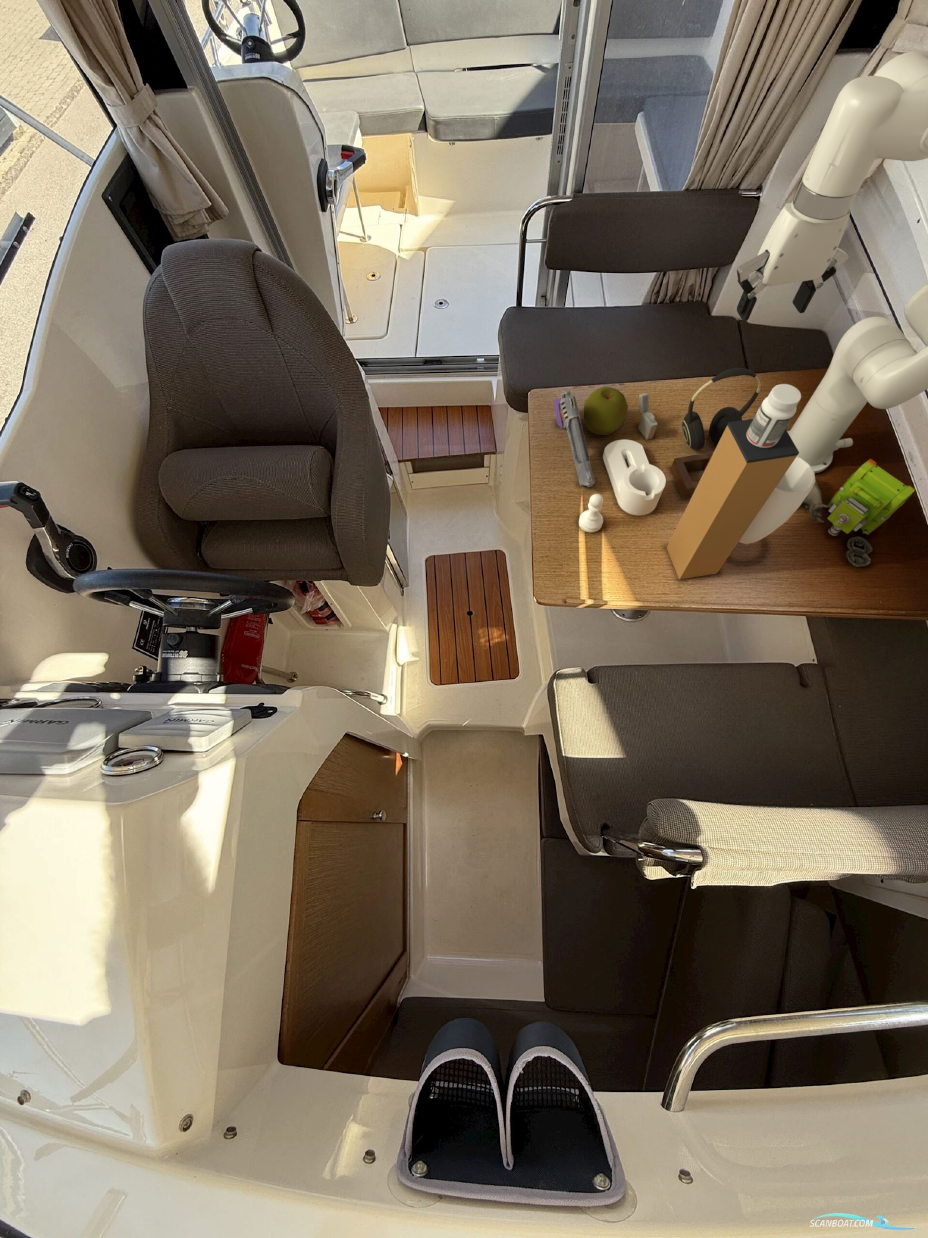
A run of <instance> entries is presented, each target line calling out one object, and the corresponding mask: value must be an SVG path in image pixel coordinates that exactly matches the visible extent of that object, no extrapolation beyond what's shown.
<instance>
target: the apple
mask: <svg viewBox="0 0 928 1238" xmlns="http://www.w3.org/2000/svg"><path fill="white" fill-rule="evenodd" d="M628 409H629V405H628V401H627V399H626V396H625V395H624V393H622V392H621V391H620V390H619V389H617V388H615V387H609V386H601V387H599V388H597V389H595V390H593V391H592V392H591V393H590V394H589V396H588V397H587V399H586V400H585V401H584V404H583V415H582V418H583V420H584V423H585V427H586V428H587V430H588V431H589V432H590V433H592V434H595V435H599V436H608V435H611V434H613V433H615V432H616V431H617V430H618V429H619V428H620V427H622V425H623V423H624V422H625V419H626V417H627V414H628Z"/></svg>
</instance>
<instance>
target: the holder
mask: <svg viewBox="0 0 928 1238" xmlns="http://www.w3.org/2000/svg"><path fill="white" fill-rule="evenodd" d="M713 453H714V451H712V452H705V453H699V454H692V455H687V456H680V457H679V456H678V457H674V459H673V461H672V463H671V466H670V468H669V470H670V472H671V474H672V476H673V479H674V481H675V484H676V486H677V488H678V490H679V493H680V495H681V498H682V499H683V500H684V499H685V500H686V499H691V497H692V495H693V493H694V491H695V489H696V487H697V485H698V483H699V481H700V480H698V481H692V479H691V476H690V474H689V472H693V471H699V470H703V472H704V471H705V469H706V467H707V465H708V463H709V461H710V459H711V457H712V455H713Z"/></svg>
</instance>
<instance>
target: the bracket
mask: <svg viewBox="0 0 928 1238" xmlns="http://www.w3.org/2000/svg"><path fill="white" fill-rule="evenodd" d="M602 460H603V463H604V465H605V468H606V471H607V474H608V477H609V481H610V483H611V487H612V489H613V492H614V495H615V499H616V502H617V504H618V506H619V507H620V509H622V510H623V511H624V512H625V513H627V514H629V515H633V516H646V515H648V514H650V513H652V512H653V511H655V509H656V508H657V505H658V503H659V500H660V498H661V497H662V493H663V492H664V489H665V487H666V483H667V480H666V476H665V474H664V471H662V470H661V469H660V468H659V467H657V466H655V465H653V464H650V462H649V459H648V457H647V455H646V452H645V449H644V446H643V445H642V444H641V443H639V442H638V441H635V440H632V439H617V440H614V441H611V442H610V443H608V444H607V445H606V446H605V447H604V451H603V454H602Z"/></svg>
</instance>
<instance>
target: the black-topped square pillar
mask: <svg viewBox="0 0 928 1238" xmlns="http://www.w3.org/2000/svg"><path fill="white" fill-rule="evenodd" d="M753 419H754V418H749V419H742V420H741V421H735V422H729V423H728V425H727V427H726V429H725V431H724V433H723V435H722V437H721V439H720V441H719V443H718V445H717V446H716V447H715V449H714V451H713V455H712V457H711V459H710V461H709V463H708V465H707V467H706V469H705V471H704V470H703V473H702V476H701V478H700V479H699V480H698V481H699V483H698V485H697V487H696V489H695V491H694V493H693V495H692V497H691V498H689V499H690V500H689V502H688V503H687V506H686V507H685V510H684V511H683V514H682V515H681V518H680V520H679V521H678V524H677V526H676V528H675V530H674V532H673V534H672V536H671V538H670V540H669V541H668V544H667V546H666V550H667V552H668V555H669V557H670V559H671V563H672V565H673V567H674V570H675V572H676V575H677V578H678V579H679V580H684V579H685V580H686V579H690V578H697V577H705V576H710V575H715V574H718V572H719V571H720V570H721V568H722V567H723V566H724V564H725V563H726V561H727V560H728V558H729V557H730V555H731V554H732V553H733V551H734V549H735V548H736V546H737V545H738V544H739V543H740V542H739V540H740V539H741V537H742V536H743V535H744V533H745V532H746V530H747V529H748V527H749V526H750V524H751V523H752V521H753V520H754V518H755V517H756V515H757V514H758V513H759V511H760V510H761V508H762V507H763V505H764V504H765V502H766V501H767V499H768V498H769V496H770V495H771V494H772V492H773V491H774V489H775V488H776V486H777V485H778V483H779V482H780V480H781V479H782V477H783V476H784V474H785V473H786V472H787V470H788V469H789V467H790V466H791V464H792V463H793V461H794V460H795V458H796V457H797V455H798V454H799V451H798V449H797V448H796V446H795V444H794V442H793V441H792V439H791V437H790V436H789V434H788V432H787V431H788V430H787V428H786V429H785V431H784V433H783V434H782V436H781V437H780V439H779V441H778V442H777V443H776V444H775V445H774V446H772V447H769V448H761V447H757V446H755V445H753V444H752V443H750V442H749V440H748V439H747V430H748V428H749V426H750V425H751V423H752V421H753Z"/></svg>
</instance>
